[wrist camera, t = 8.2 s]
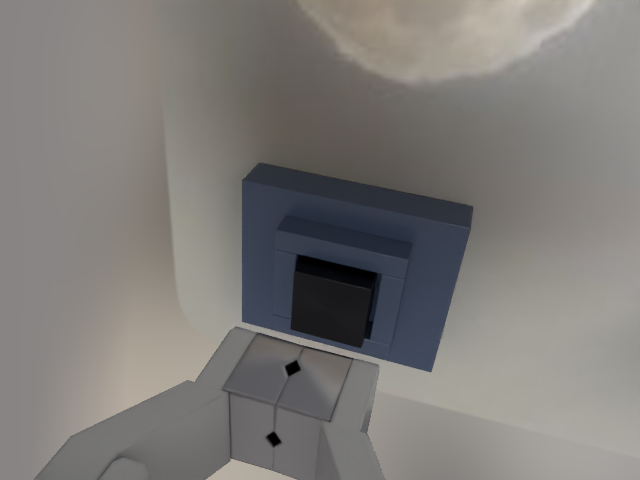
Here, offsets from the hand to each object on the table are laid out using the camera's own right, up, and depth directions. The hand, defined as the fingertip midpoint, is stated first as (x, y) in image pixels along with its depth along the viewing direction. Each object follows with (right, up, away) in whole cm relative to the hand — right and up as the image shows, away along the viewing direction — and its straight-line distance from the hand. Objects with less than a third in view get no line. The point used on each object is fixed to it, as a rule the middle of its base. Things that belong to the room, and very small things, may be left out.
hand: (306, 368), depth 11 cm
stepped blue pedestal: (+2, +1, +21) cm, 21 cm away
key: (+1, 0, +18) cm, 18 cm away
